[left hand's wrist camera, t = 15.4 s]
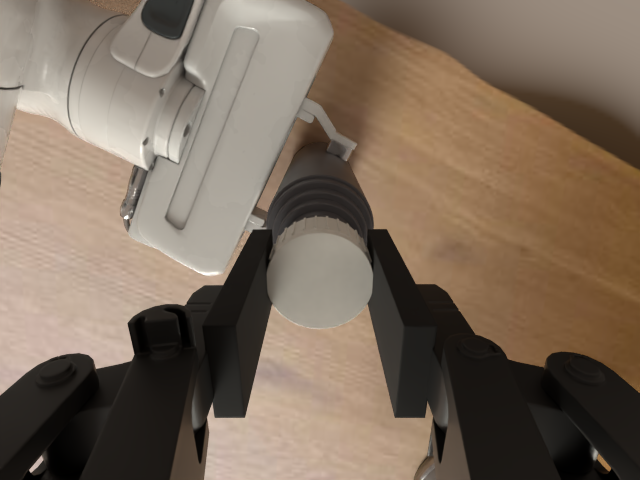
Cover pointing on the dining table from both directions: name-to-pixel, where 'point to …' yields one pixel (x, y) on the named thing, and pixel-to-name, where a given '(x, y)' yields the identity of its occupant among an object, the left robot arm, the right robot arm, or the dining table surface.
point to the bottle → (319, 193)
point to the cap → (319, 273)
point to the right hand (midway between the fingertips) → (330, 192)
